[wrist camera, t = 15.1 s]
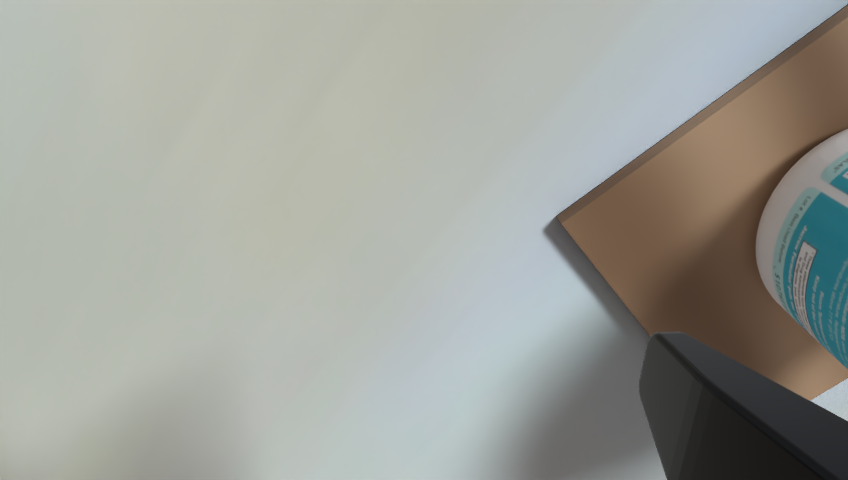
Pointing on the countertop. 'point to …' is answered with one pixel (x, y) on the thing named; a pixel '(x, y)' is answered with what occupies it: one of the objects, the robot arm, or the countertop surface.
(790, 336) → the walnut board
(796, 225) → the pill bottle
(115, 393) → the countertop surface
